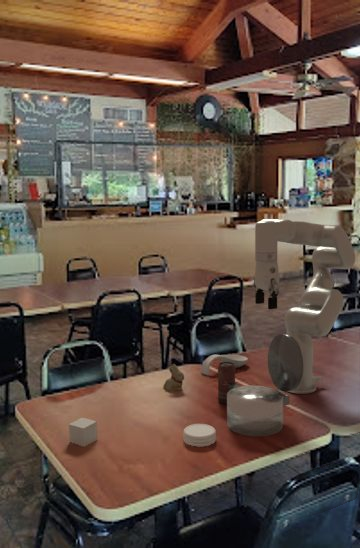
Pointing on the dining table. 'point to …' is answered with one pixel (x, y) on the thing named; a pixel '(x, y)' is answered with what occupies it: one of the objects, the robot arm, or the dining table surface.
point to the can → (225, 379)
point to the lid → (285, 362)
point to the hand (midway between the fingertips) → (266, 306)
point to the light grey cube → (83, 431)
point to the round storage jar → (255, 409)
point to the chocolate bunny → (174, 379)
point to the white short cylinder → (199, 435)
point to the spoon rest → (234, 359)
